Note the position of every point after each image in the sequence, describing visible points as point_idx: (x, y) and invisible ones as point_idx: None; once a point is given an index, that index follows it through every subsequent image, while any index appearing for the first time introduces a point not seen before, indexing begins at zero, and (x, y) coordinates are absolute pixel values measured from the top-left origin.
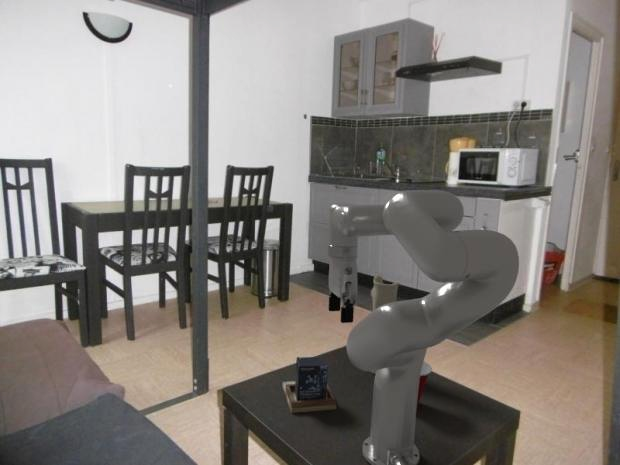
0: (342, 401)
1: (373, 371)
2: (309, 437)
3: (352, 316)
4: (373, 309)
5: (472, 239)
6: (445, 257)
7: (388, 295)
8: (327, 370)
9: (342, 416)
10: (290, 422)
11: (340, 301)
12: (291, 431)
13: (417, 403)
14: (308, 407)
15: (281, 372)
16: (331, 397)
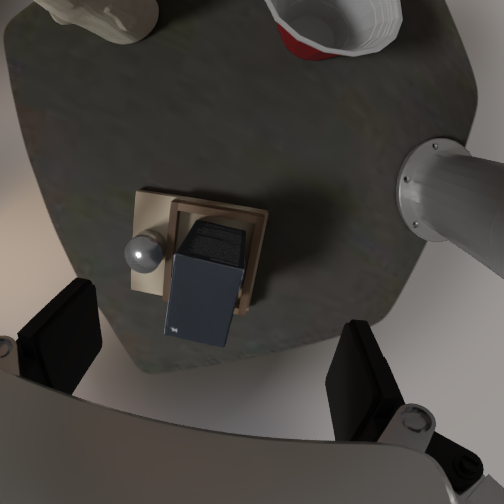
0: (240, 179)
1: (138, 39)
2: (337, 302)
3: (373, 347)
4: None
5: None
6: None
7: None
8: (244, 264)
9: (301, 210)
10: (279, 317)
11: (54, 314)
12: (307, 324)
13: (339, 26)
14: (253, 276)
15: (80, 266)
16: (252, 222)
